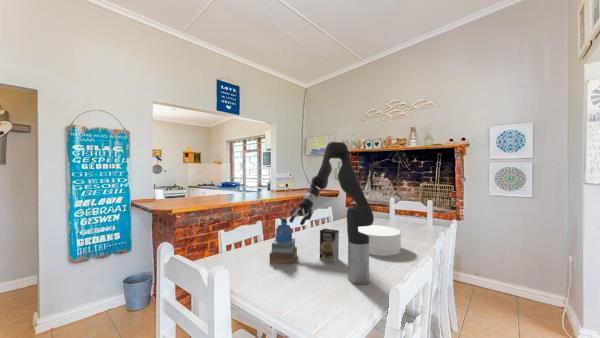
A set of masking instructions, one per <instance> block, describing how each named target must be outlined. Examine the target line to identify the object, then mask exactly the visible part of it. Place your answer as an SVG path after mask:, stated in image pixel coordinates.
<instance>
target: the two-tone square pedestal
mask: <svg viewBox="0 0 600 338" xmlns="http://www.w3.org/2000/svg"><path fill="white" fill-rule="evenodd" d="M297 255H298V247H297V246H296V238H295V237H294V238H293V237H292V241H289V242H286V243H282V242H278V241H276V238H275V239H274V240H273V241H272V242H271V250H270V252H269V264H288V265H289V264H290V265H293V264H295V261H296V259H297V257H298V256H297Z"/></svg>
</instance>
